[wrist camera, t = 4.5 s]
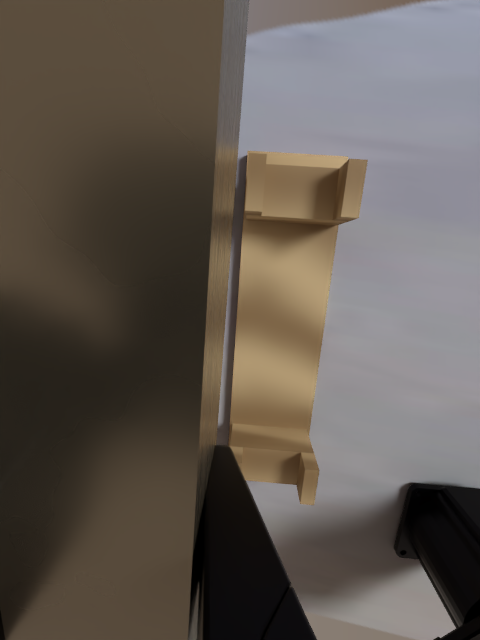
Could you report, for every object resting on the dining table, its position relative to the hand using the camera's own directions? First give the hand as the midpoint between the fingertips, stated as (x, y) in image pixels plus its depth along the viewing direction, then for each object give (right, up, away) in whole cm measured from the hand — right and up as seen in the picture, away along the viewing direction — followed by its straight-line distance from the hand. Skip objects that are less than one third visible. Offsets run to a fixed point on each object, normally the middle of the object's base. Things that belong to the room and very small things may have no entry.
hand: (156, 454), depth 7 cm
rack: (+5, +3, +12) cm, 13 cm away
